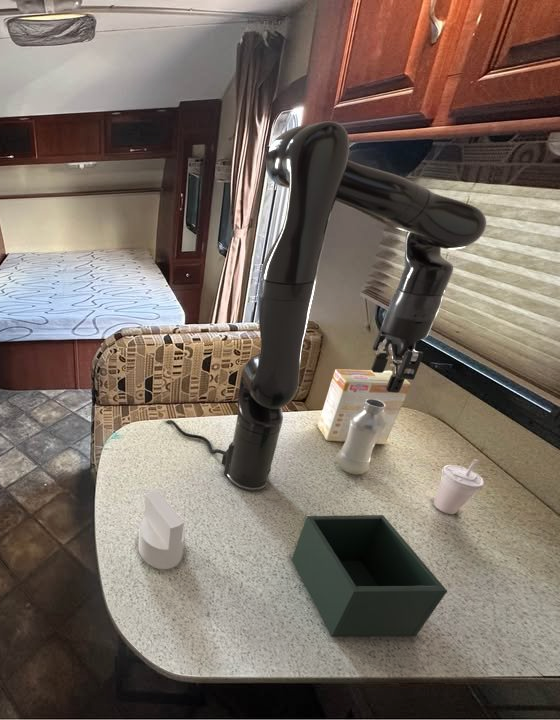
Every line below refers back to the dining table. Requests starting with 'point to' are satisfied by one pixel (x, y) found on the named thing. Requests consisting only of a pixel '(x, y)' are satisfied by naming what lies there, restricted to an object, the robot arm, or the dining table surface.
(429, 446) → the dining table surface
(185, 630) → the dining table surface
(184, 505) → the dining table surface
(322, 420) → the coffeecake box
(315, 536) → the trash bin
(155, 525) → the base with upright slab
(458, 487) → the smoothie
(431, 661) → the dining table surface
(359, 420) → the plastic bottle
